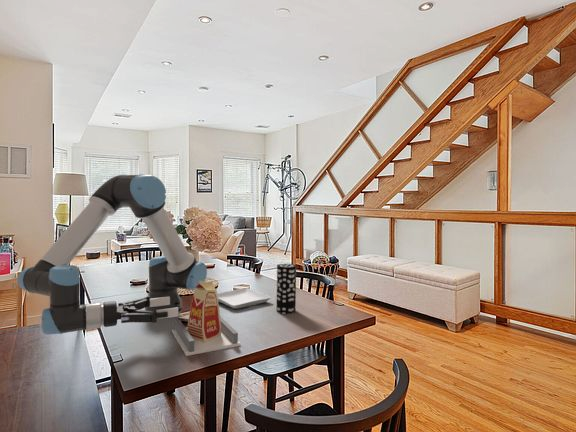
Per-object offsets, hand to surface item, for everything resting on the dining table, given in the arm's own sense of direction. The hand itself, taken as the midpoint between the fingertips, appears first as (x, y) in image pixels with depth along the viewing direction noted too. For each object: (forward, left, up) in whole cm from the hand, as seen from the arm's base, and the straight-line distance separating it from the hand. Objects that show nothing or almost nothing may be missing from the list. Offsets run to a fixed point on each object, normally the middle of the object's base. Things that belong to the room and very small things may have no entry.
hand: (173, 305), depth 123 cm
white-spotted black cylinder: (-15, +51, -13) cm, 54 cm away
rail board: (0, +11, -13) cm, 17 cm away
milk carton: (0, +10, -12) cm, 16 cm away
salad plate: (-36, +38, -14) cm, 54 cm away
